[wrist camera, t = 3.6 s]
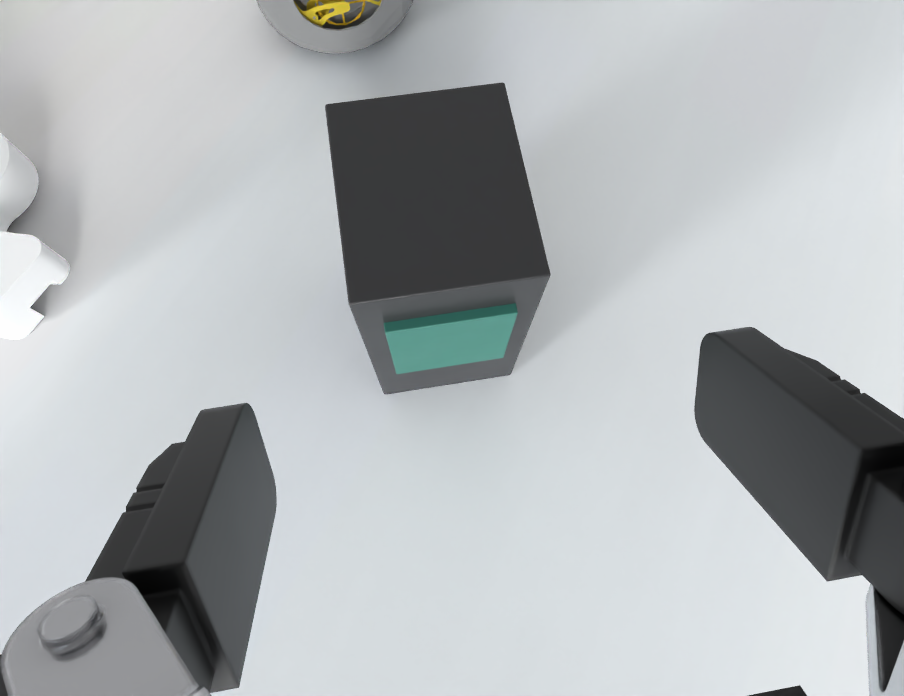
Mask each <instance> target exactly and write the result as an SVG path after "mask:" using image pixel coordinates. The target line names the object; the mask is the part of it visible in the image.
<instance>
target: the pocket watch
mask: <svg viewBox="0 0 904 696" xmlns="http://www.w3.org/2000/svg"><path fill="white" fill-rule="evenodd" d="M412 2H413V0H257V3H258V5H259V8H260V9H261V11H262V12H263V14H264V16H265V17H266V19H267V20H268V22H269V23H270V24H271V25H272V26H273V27H274V28H275V29H276V30H277V32H278V33H279V34H281V35H282V36H284V37H285V38H286V39H288V40H289V41H290V42H292V43H294V44H296V45H298V46H300V47H303V48H306V49H309V50H313V51H317V52H321V53H347V52H354V51H357V50H360V49H364V48H367V47H369V46H371V45H373V44H375V43H377V42H379V41H381V40H382V39H384V38H385V37H386V36H387V35H388V34H390V33H391V32H392V31H393V30H394V29H396V27H397V26H398V25H399V24H400V23H401V21H402V20H403V19H404V17H405V16H406V14H407V12H408V10H409V8H410V6H411V4H412Z"/></svg>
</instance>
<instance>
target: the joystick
mask: <svg viewBox="0 0 904 696" xmlns="http://www.w3.org/2000/svg"><path fill="white" fill-rule="evenodd" d="M38 184H39V177H38V172H37V169H36V167H35V165H34V164H33V163H32V161H31V160H30V159H29V158H28V157H26V156H25V155H24V154H23V153H22V152H21V151H20V150H19V149H18V148H17V147H16V146H15V145H14V144H12V143H11V142H10V141H9V140H8V139H7V138H6V137H5V136H4V135H3V134H2V133H1V132H0V337H2V338H7V339H14V340H16V339H21V338H24V337H26V336H27V335H28V334H30V333H31V332H32V330H33V329H34V328H35V327H36V326H37V325H38V323H39V322H40V321H41V320H42V319H43V318H44V316H43V315H42V314H40V313H38V312H36V311H35V310H33V309H31V308H30V307H31V306H32V305H33V303H34V302H35V301H36V300H37V299H38V298H39V296H40V295H41V294H42V293H43V292H44V291H45V290H46V288H47V287H48V286H49V285H50V284H57V285H61V284H62V283H63V282H64V280H65V279H66V278H67V277H68V275H69V272H70V265H69V263H68V261H67V260H66V259H64V258H63V257H62V256H60V255H59V254H58V253H56V252H55V251H54V250H52V249H51V248H50V247H48V246H47V245H46V244H44V243H43V242H42V241H40V240H39V239H38V238H37V237H35V236H33V235H27V234H18V233H10V232H7V229H8V227H9V225H10V224H11V223H12V222H13V221H14V220H15V219H16V218H17V217H19V216H20V215H21V214H22V213H23V212H24V211H25V210H26V209H27V208H28V207H29V206H30V204H31V203H32V201H33V199H34V198H35V195H36V193H37V190H38Z"/></svg>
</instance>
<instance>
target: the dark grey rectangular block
mask: <svg viewBox="0 0 904 696" xmlns="http://www.w3.org/2000/svg"><path fill="white" fill-rule="evenodd" d="M325 110H326V118H327V126H328V135H329V143H330V152H331V160H332V168H333V177H334V185H335V193H336V202H337V210H338V218H339V227H340V235H341V243H342V252H343V260H344V268H345V277H346V285H347V294H348V302H349V305H350V308H351V311H352V313H353V316H354V318H355V321H356V323H357V326H358V328H359V331H360V334H361V336H362V339H363V341H364V344H365V346H366V349H367V351H368V354H369V357H370V359H371V362H372V364H373V367H374V369H375V372H376V374H377V377H378V380H379V382H380V385H381V387H382V390H383V392H384V394H391V393H397V392H404V391H410V390H416V389H423V388H429V387H435V386H442V385H448V384H455V383H461V382H467V381H474V380H480V379H486V378H493V377H499V376H505V375H510V374H511V372H512V369H513V367H514V364H515V362H516V359H517V357H518V354H519V352H520V349H521V347H522V344H523V342H524V339H525V337H526V334H527V332H528V329H529V327H530V324H531V322H532V319H533V317H534V314H535V312H536V309H537V307H538V304H539V302H540V299H541V297H542V294H543V292H544V289H545V287H546V284H547V282H548V279H549V277H550V270H549V266H548V262H547V258H546V254H545V250H544V245H543V241H542V237H541V233H540V229H539V225H538V221H537V216H536V212H535V208H534V204H533V200H532V196H531V192H530V187H529V183H528V179H527V175H526V171H525V167H524V162H523V158H522V154H521V150H520V146H519V142H518V138H517V133H516V129H515V125H514V121H513V117H512V113H511V109H510V104H509V100H508V96H507V92H506V88H505V84H504V83H495V84H487V85H479V86H471V87H463V88H455V89H447V90H439V91H431V92H422V93H414V94H406V95H398V96H390V97H382V98H374V99H366V100H358V101H350V102H341V103H333V104H327V105H326V106H325Z"/></svg>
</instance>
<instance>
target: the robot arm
mask: <svg viewBox="0 0 904 696" xmlns="http://www.w3.org/2000/svg"><path fill="white" fill-rule="evenodd" d="M694 411H695V420H696V424H697V428H698V430H699V433H700V435H701V437H702V438H703V440H704V441H705V443H706V444H707V445H708V446H709V447H710V448H711V450H712V451H713V452H714V453H715V454H716V455H717V456H718V458H719V459H720V460H721V461H722V462H723V463H724V464H725V465H726V467H727V468H728V469H729V470H730V471H731V472H732V473H733V475H734V476H735V477H736V478H737V479H738V480H739V481H740V483H741V484H742V485H743V486H744V487H745V488H746V489H747V491H748V492H749V493H750V494H751V495H752V496H753V497H754V499H755V500H756V501H757V502H758V503H759V504H760V505H761V506H762V508H763V509H764V510H765V511H766V512H767V513H768V514H769V516H770V517H771V518H772V519H773V520H774V521H775V522H776V524H777V525H778V526H779V527H780V528H781V529H782V530H783V532H784V533H785V534H786V535H787V536H788V537H789V538H790V540H791V541H792V542H793V543H794V544H795V545H796V546H797V547H798V549H799V550H800V551H801V552H802V553H803V554H804V555H805V557H806V558H807V559H808V560H809V561H810V562H811V563H812V565H813V566H814V567H815V568H816V569H817V570H818V571H819V573H820V574H821V575H822V576H823V577H824V578H825V579H826V581H832V580H837V579H843V578H848V577H854V576H859V575H863V576H864V577H865V578H866V579H867V580H868V581H869V582H870V583H871V584H870V587H869V590H868V593H867V597H866V624H867V649H868V674H869V696H904V419H903V418H901V417H900V416H898V415H897V414H895V413H894V412H892V411H891V410H889V409H888V408H886V407H885V406H883V405H882V404H880V403H879V402H877V401H876V400H874V399H873V398H872V397H870V396H869V395H867V394H866V393H862V394H861V393H860V389H858V388H857V387H855V386H854V385H852V384H851V383H849V382H848V381H846V380H841V379H840V376H839V375H837V374H836V373H834V372H833V371H831V370H830V369H828V368H827V367H825V366H824V365H822V364H821V363H819V362H818V361H816V360H814V359H811V358H808V357H806V356H803V355H800V354H798V353H795V352H792V351H790V350H787V349H784V348H783V347H781V346H780V345H778V344H777V343H775V342H774V341H773V340H771V339H770V338H768V337H767V336H765V335H764V334H762V333H761V332H760V331H758V330H757V329H755V328H752V327H745V328H739V329H732V330H726V331H719V332H713V333H708V334H706V335H705V336H704V338H703V340H702V342H701V347H700V356H699V366H698V376H697V387H696V397H695V409H694ZM136 489H137V492H136V493H133V495H132V497H131V499H130V501H129V502H128V504H127V506H126V512H124V513H122V515H121V517H120V519H119V521H118V523H117V524H116V526H115V528H114V530H113V532H112V534H111V535H110V537H109V539H108V541H107V543H106V544H105V546H104V548H103V550H102V552H101V554H100V555H99V557H98V559H97V561H96V563H95V565H94V566H93V568H92V570H91V572H90V574H89V576H88V577H87V579H86V581H85V582H83V583H80V584H78V585H75V586H73V587H70V588H68V589H66V590H64V591H63V592H61V593H59V594H57V595H55V596H54V597H52V598H51V599H49V600H47V601H46V602H45V603H43V604H42V605H41V606H39V607H38V608H37V609H35V610H34V611H33V612H32V613H31V614H30V615H29V616H28V617H26V619H25V620H24V621H23V622H22V623H21V624H20V625H19V626H18V627H17V628H16V630H15V631H14V632H13V634H12V635H11V636H10V638H9V640H8V642H7V643H6V645H5V647H4V650H3V653H2V654H1V655H0V696H211V695H210V693H212V692H218V691H223V690H228V689H234V688H239V684H240V680H241V675H242V670H243V665H244V661H245V656H246V651H247V646H248V642H249V637H250V632H251V627H252V622H253V618H254V613H255V608H256V603H257V599H258V594H259V589H260V584H261V580H262V575H263V570H264V565H265V560H266V556H267V551H268V546H269V541H270V537H271V532H272V527H273V522H274V518H275V513H276V486H275V480H274V476H273V472H272V469H271V466H270V462H269V459H268V456H267V453H266V449H265V446H264V443H263V440H262V436H261V433H260V430H259V427H258V423H257V420H256V417H255V414H254V411H253V409H252V407H251V406H250V405H249V404H248V403H244V404H237V405H231V406H224V407H217V408H211V409H204V410H202V411H200V413H199V414H198V416H197V418H196V420H195V423H194V425H193V427H192V429H191V431H190V433H189V435H188V437H187V439H186V441H185V442H181V443H175V444H172V445H171V446H169V447H168V448H167V449H166V450H165V451H164V452H163V453H162V454H161V455H160V456H158V457H157V458H156V459H155V460H154V461H153V462H152V463H151V464H150V465H149V466H148V468H147V470H146V471H145V473H144V475H143V477H142V479H141V481H140V482H139V484H138V486H137V488H136ZM749 696H807V695H806V694H805V692H804V691H803V689H802V688H801V686H795V687H790V688H784V689H779V690H774V691H769V692H764V693H759V694H754V695H749Z"/></svg>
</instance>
